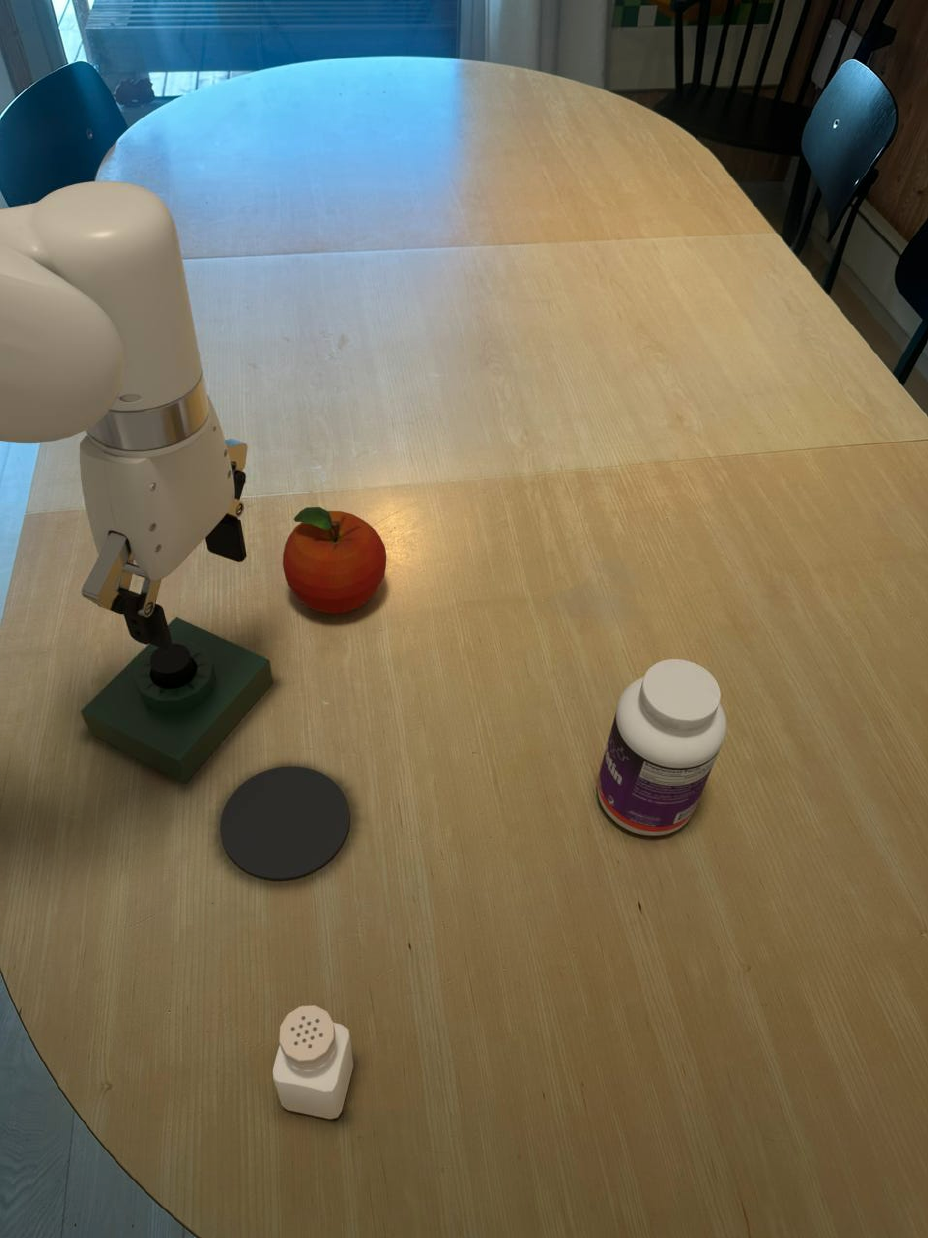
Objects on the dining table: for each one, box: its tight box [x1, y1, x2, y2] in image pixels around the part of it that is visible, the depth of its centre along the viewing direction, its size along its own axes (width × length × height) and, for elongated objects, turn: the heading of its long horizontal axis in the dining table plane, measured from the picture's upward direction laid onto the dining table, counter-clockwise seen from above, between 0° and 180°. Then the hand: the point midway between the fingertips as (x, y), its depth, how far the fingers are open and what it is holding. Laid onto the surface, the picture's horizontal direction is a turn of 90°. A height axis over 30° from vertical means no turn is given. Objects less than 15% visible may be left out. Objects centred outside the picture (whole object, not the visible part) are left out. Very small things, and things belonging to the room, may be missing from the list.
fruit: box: [282, 506, 387, 614], centre depth 89 cm, size 10×10×10 cm
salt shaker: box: [272, 1004, 354, 1120], centre depth 59 cm, size 4×4×10 cm
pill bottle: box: [596, 658, 727, 837], centre depth 73 cm, size 8×8×14 cm
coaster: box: [219, 765, 351, 882], centre depth 76 cm, size 10×10×1 cm
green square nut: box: [80, 616, 274, 784], centre depth 81 cm, size 12×10×5 cm
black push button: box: [150, 643, 194, 689], centre depth 79 cm, size 3×3×2 cm
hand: (191, 596), depth 72 cm, fingers open, 9 cm apart
